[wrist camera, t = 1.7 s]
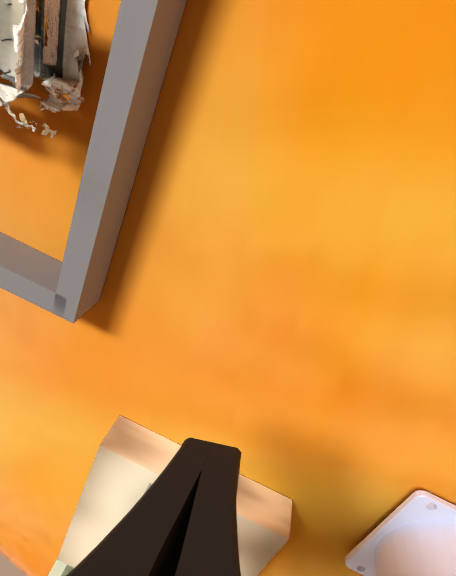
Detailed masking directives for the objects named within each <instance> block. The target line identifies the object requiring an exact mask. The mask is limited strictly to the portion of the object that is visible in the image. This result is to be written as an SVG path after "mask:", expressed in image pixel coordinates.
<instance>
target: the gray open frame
mask: <svg viewBox="0 0 456 576" xmlns="http://www.w3.org/2000/svg"><path fill="white" fill-rule="evenodd" d="M186 1H187V0H121V5H120V9H119V13H118V18H117V22H116V27H115V31H114V36H113V40H112V45H111V49H110V54H109V58H108V62H107V67H106V71H105V76H104V80H103V85H102V89H101V94H100V98H99V103H98V107H97V111H96V116H95V120H94V125H93V129H92V134H91V138H90V143H89V147H88V152H87V156H86V161H85V165H84V169H83V174H82V178H81V183H80V187H79V192H78V196H77V201H76V205H75V210H74V214H73V218H72V223H71V227H70V232H69V236H68V241H67V245H66V250H65V254H64V259H63V262H61V261H59V260H56V259H54V258H52V257H50V256H48V255H46V254H44V253H42V252H40V251H38V250H36V249H34V248H32V247H30V246H28V245H26V244H24V243H22V242H20V241H17V240H15V239H13V238H11V237H9V236H7V235H5V234H3V233H1V232H0V288H2V289H4V290H6V291H8V292H10V293H12V294H15V295H17V296H19V297H21V298H23V299H25V300H27V301H29V302H31V303H33V304H35V305H37V306H39V307H41V308H43V309H45V310H47V311H49V312H51V313H53V314H55V315H57V316H60V317H62V318H64V319H66V320H68V321H70V322H72V323H74V322H75V321H77V320H78V319H79V318H80V317H81V316H82V315H83V314H85V313H86V312H87V311H88V310H89V309H90V308H91V307H93V306H94V305H95V304H96V303H97V302H98V301H99V300H100V296H101V293H102V289H103V286H104V282H105V279H106V276H107V272H108V269H109V265H110V262H111V258H112V255H113V252H114V248H115V245H116V241H117V238H118V234H119V231H120V228H121V224H122V221H123V217H124V214H125V210H126V207H127V204H128V200H129V197H130V193H131V190H132V186H133V183H134V180H135V176H136V173H137V169H138V166H139V162H140V159H141V156H142V152H143V149H144V145H145V142H146V138H147V135H148V132H149V128H150V125H151V121H152V118H153V114H154V111H155V108H156V104H157V101H158V97H159V94H160V91H161V87H162V84H163V80H164V77H165V73H166V70H167V67H168V63H169V60H170V56H171V53H172V49H173V46H174V43H175V39H176V36H177V32H178V29H179V25H180V22H181V19H182V15H183V12H184V8H185V5H186Z"/></svg>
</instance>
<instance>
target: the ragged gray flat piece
mask: <svg viewBox="0 0 456 576" xmlns="http://www.w3.org/2000/svg"><path fill="white" fill-rule="evenodd" d="M45 16H47V20H46V21H47V24H48V30H47V36H48V40H47V44H48V46H47V47H45V45H44V43H45V28H44V17H45ZM84 20H85V21H84ZM84 23H86V25H87V30H88V32H89V27H88V23H87V17H86V12H85V0H39V12H38V10H37V11H36V0H0V71H1V72H2V75H0V76H1V78H4V79H6V80H9V81H10V82H11V83H12V84H13V85H10V84H6V83H5V84H4V83H1V82H0V106H2V105H5V106H6V107H5V108H6V109H7V111H8V113H9V114H10V116H13V117H15V114H13V113H12V111H11V110H10V109H9V107H10V106H9V107H8V105H9V101H10V102H12V101H13V100H14V99H17V98H24V97H26V98H34V99H35V98H36V99H40V98H41V97H39V96H37V95H34V94H31V93H30V94H29V93H23V92H24V90H26V91H27V90H28V89H29V88H30V87H31V85H32V84H33V77H34V76H35V78H37V77H38V78H41V79H42V83H41V84H42V85H44V86H46V89H47V90H48V91H49V92H50V94H49V97H50V98H48V100H47V101H43V99H42V100H41V105H43V104H44V105H45V107H46V109H48V110H52V112H53V113H56V111H58V110H64V111H66V110H68V111H69V110H71V111H73V110H74V111H75V110H76V111H77V110H78V109H79V107H80V104H81V103H82V101H84V100H82V99H85V98H83V97H81V89H82V86H83V83H84V81H83V79H84V77H83V75H82V69H81V67H83V64H82V63H83V59H84V56H85V54H88V55H89V58H90V53H89V48H88V44H87V42H88V40H87V37H86V36H87V35H86V31H85V24H84ZM85 49H86V50H85ZM86 52H87V53H86ZM89 58H88V59H89ZM77 59H78V60H77ZM79 60H82V61H81V64H79V69H80V73H81V74H80V73H79V72H78V62H80V61H79ZM86 61H87V60H86ZM89 62H90V60H89ZM90 64H91V62H90ZM90 64H89V65H90ZM79 75H80V81H79ZM43 79H45V80H46V79H47V80H46V81H45V80H44V81H43ZM77 83H78V84H77ZM15 84H16V86H15ZM51 85H52V86H54V87H51ZM73 86H77V88H74V87H73ZM22 87H23V88H24V89H21V88H22ZM56 87H57V88H58V89H59V90H61V91H62V92H59V91H57V90H56ZM48 88H49V89H48ZM73 88H74V89H73ZM54 89H55V90H54ZM71 89H72V90H73V91H74V92H72V90H71ZM54 91H56V92H54ZM27 92H28V91H27ZM46 92H47V91H46ZM21 93H23V94H21ZM51 93H52V96H51ZM63 93H64V94H68V93H69V95H68V97H69V98H70V100H71V101H70V100H69V101H66V103H63V102H64V101H62V99H61V98H60V100H59V99H57V98H58V96H59V95H60V94H62V95H64V94H63ZM71 94H72V95H73V96H72V95H71ZM56 95H58V96H56ZM71 96H72V97H71ZM53 97H54V98H55V99H54V98H53ZM62 98H63V99H64V100H65V99H66V98H64V97H62ZM45 100H46V99H45ZM66 100H67V99H66ZM42 101H43V102H42ZM4 102H5V103H4ZM42 103H43V104H42ZM67 103H69V104H67ZM78 103H79V105H78ZM41 105H40V106H41ZM48 107H49V108H48ZM5 108H4V109H5ZM51 108H52V109H51ZM44 109H45V108H43V109H40V110H41V111H42V110H44ZM54 110H55V111H54ZM59 112H60V111H59ZM19 117H20V119H21V120H20V121H21V123H20V122H19V121H15V122H16V123H18V124H19V125H20V126H21V125H23V126H25V128H26V127H28V126H29V128H30V127H31V128H34V127H33V125H28V124H27V120H26V118H25V116H24V114H23V113H19ZM15 118H16V117H15ZM15 118H13V119H15ZM15 120H16V119H15ZM32 122H33V121H32ZM30 123H31V122H30ZM32 124H33V123H32ZM35 124H37V123H35ZM19 125H18V126H19ZM43 126H45V130H43V131H42V133H41V134H42V135H48V133H49V132H50V134H51V136H52V137H53V135H55V134H56V131H52V130H51V129H48V128H50V127H49V126H48V125H46V124H45V125H44V124H43ZM43 126H42V127H43ZM19 128H20V127H19ZM34 129H36V128H34ZM34 129H32V131H33V132H35V131H34ZM49 130H50V131H49ZM54 132H55V133H54ZM51 136H50V138H52V137H51Z"/></svg>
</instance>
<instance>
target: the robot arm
mask: <svg viewBox="0 0 456 576" xmlns="http://www.w3.org/2000/svg"><path fill="white" fill-rule="evenodd" d="M240 460H241V452H240V451H239V449H238V448H235V447H230V446H226V445H221V444H217V443H212V442H208V441H203V440H199V439H194V438H188V439H186V440H185V441H184V443H183V444H182V446H181V447H180V449H179V450H178V451H177V453H176V454H175V456H174V457H173V458H172V460H171V461H170V462H169V464H168V465H167V466H166V468H165V469H164V470H163V471H162V473H161V474H160V475H159V476H158V478H157V479H156V480H155V481H154V483H153V484H152V485H151V486H150V487H149V489H148V490H147V491H146V492H145V493H144V495H143V496H142V497H141V498H140V499H139V500H138V502H137V503H136V504H135V505H134V506H133V507H132V509H131V510H130V511H129V512H128V513H127V514H126V515H125V516H124V517H123V519H122V520H121V521H120V522H119V523H118V524H117V525H116V526H115V527H114V528H113V529H112V530H111V531H110V532H109V533H108V535H107V536H106V537H105V538H104V539H103V540H102V541H101V542H100V543H99V544H98V545H97V546H96V547H95V548H94V549H93V550H92V551H91V552H90V553H89V554H88V555H87V556H86V557H85V558H84V559H83V560H82V561H81V562H80V563H79V564H78V565H77V566H76V567H75V568H74V569H73V570H72V571H71V572H69V573H68V574H67V575H66V576H241V571H240V561H239V549H238V533H237V510H236V497H237V488H238V479H239V469H240ZM430 503H432V504H430ZM345 565H346V566H347V567H348V568H349V569H351V570H353V571H355V572H357V573H359V574H362V575H364V576H456V506H455V505H453V504H451V503H449V502H447V501H445V500H443V499H441V498H439V497H437V496H435V495H433V494H431V493H429V492H427V491H424V490H418V491H415V492H414V493H412V494H411V495H410V496H409V497H408V498H407V499H406V500H405V501H404V502H403V503H402V504H401V505H400V506H399V507H397V508H396V509H395V510H394V511H393V512H392V513H391V514H390V515H389V516H388V517H387V518H386V519H385V520H384V521H383V522H381V523H380V524H379V525H378V526H377V527H376V528H375V529H374V530H373V531H372V532H371V533H370V534H369V535H368V536H367V537H366V538H364V539H363V540H362V541H361V542H360V543H359V544H358V545H357V546H356V547H355V548H354V549H353V550H352V551H351V552H350V553H348V554H347V555H346V557H345Z"/></svg>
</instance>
